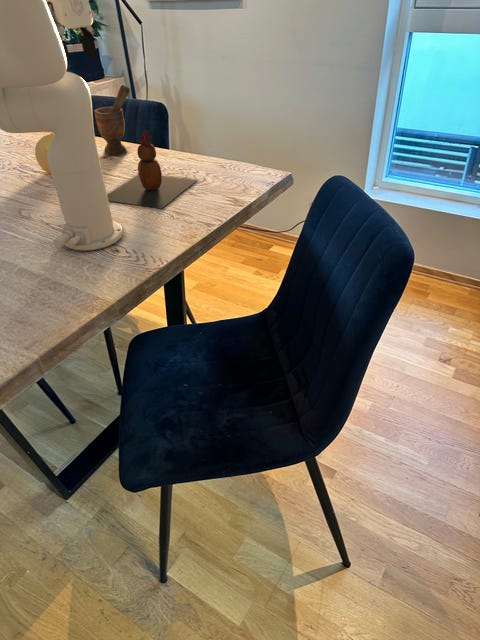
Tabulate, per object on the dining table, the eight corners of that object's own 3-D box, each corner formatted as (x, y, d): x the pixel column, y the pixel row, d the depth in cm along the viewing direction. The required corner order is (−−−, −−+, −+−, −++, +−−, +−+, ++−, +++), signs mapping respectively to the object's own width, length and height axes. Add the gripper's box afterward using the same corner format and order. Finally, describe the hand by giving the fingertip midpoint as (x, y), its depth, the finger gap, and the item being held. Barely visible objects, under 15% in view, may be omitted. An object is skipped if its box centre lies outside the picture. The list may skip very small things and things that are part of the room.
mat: (161, 209, 104) (161, 208, 104) (99, 200, 110) (99, 199, 110) (196, 181, 119) (196, 180, 119) (140, 174, 124) (140, 173, 124)
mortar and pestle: (137, 147, 145) (127, 80, 133) (140, 154, 139) (129, 85, 127) (102, 150, 143) (88, 83, 131) (103, 158, 136) (88, 88, 124)
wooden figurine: (165, 190, 113) (157, 130, 104) (144, 194, 112) (134, 133, 102) (159, 182, 118) (151, 124, 109) (139, 185, 117) (129, 126, 107)
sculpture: (57, 181, 121) (45, 141, 114) (33, 172, 127) (21, 134, 120) (90, 169, 128) (81, 131, 122) (66, 162, 134) (56, 125, 127)
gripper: (41, -42, 79) (66, 65, 90) (97, -39, 92) (113, 54, 102) (9, -41, 81) (37, 63, 92) (68, -38, 94) (87, 53, 104)
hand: (77, 58), depth 97 cm, fingers open, 9 cm apart
